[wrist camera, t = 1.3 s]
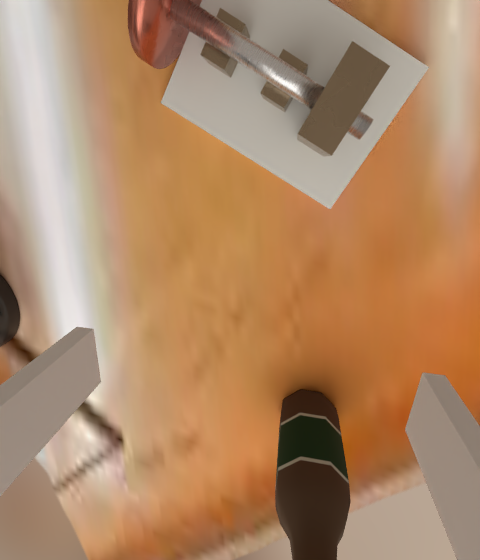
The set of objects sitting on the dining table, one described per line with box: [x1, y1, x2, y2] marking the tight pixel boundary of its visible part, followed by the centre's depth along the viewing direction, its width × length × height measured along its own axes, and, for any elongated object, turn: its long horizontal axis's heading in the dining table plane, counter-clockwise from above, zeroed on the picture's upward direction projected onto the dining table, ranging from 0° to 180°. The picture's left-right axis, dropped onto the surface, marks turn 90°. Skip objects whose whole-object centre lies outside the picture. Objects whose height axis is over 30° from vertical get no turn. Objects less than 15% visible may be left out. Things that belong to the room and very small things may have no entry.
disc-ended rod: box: [128, 0, 373, 140], centre depth 26 cm, size 20×9×9 cm, turn 60°
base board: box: [161, 0, 429, 209], centre depth 30 cm, size 20×14×1 cm
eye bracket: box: [200, 8, 390, 156], centre depth 26 cm, size 14×6×8 cm, turn 60°
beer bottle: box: [275, 390, 350, 560], centre depth 32 cm, size 8×8×24 cm
